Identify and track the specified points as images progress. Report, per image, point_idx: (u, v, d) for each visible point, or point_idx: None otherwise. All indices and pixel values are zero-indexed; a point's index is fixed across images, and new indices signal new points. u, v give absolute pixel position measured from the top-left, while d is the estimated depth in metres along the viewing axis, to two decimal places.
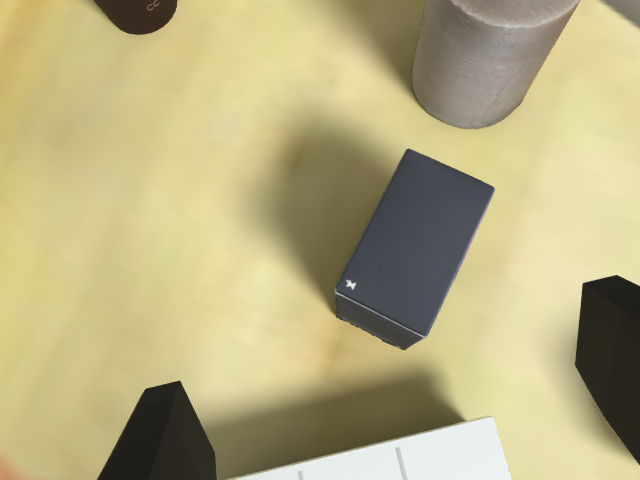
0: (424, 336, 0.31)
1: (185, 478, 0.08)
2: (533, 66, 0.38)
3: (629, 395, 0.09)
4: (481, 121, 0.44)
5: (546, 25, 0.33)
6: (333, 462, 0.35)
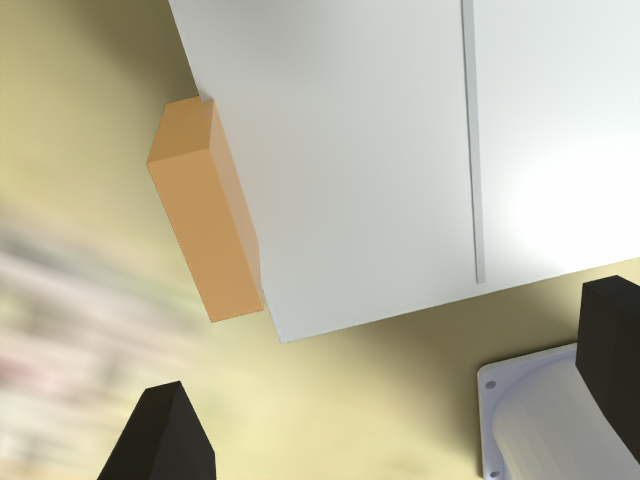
0: None
1: (185, 479, 0.08)
2: None
3: (628, 395, 0.09)
4: None
5: None
6: None
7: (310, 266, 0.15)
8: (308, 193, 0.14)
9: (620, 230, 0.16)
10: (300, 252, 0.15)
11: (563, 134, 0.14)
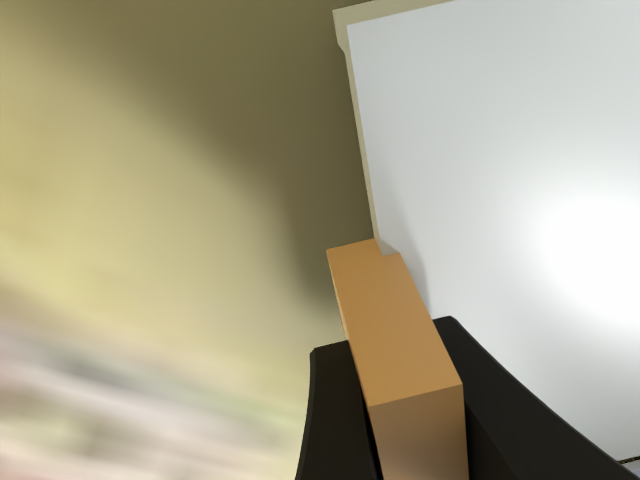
0: None
1: (370, 433, 0.08)
2: None
3: None
4: None
5: None
6: None
7: None
8: (494, 352, 0.11)
9: None
10: None
11: None
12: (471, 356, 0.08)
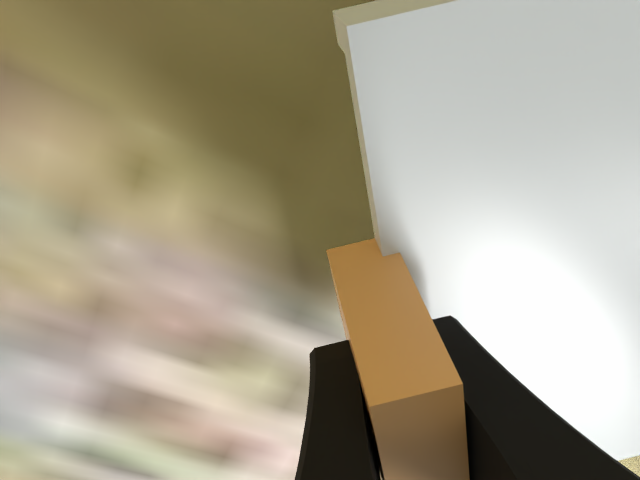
0: None
1: (369, 433, 0.08)
2: None
3: None
4: None
5: None
6: None
7: None
8: (494, 352, 0.11)
9: None
10: None
11: None
12: (471, 356, 0.08)
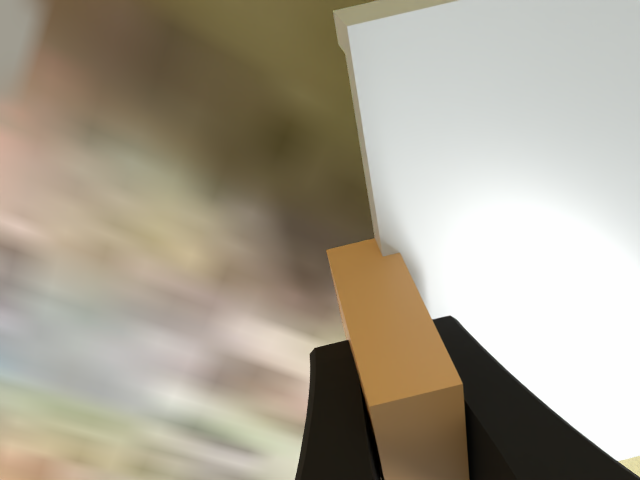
0: None
1: (370, 433, 0.08)
2: None
3: None
4: None
5: None
6: None
7: None
8: (494, 352, 0.11)
9: None
10: None
11: None
12: (471, 356, 0.08)
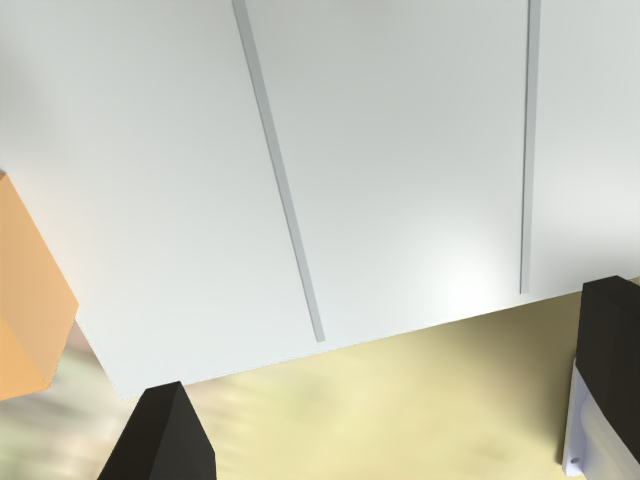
0: None
1: (185, 478, 0.08)
2: None
3: (629, 395, 0.09)
4: None
5: None
6: None
7: (139, 327, 0.15)
8: (124, 260, 0.14)
9: (457, 291, 0.16)
10: (126, 315, 0.15)
11: (382, 202, 0.14)
12: None
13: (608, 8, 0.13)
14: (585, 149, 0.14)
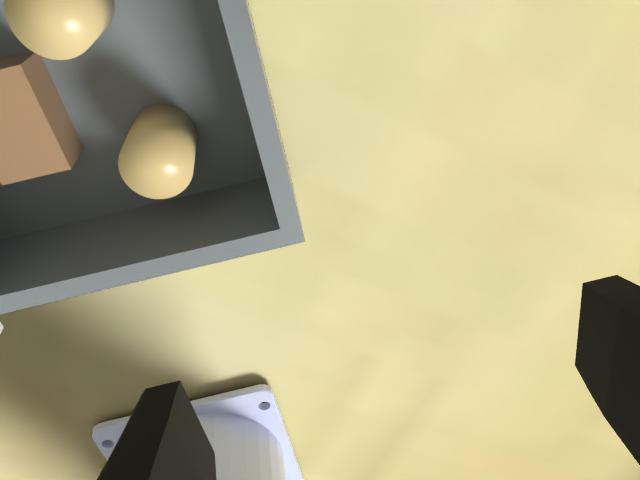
0: None
1: (185, 478, 0.08)
2: None
3: (628, 395, 0.09)
4: None
5: None
6: None
7: None
8: None
9: None
10: None
11: None
12: None
13: None
14: None
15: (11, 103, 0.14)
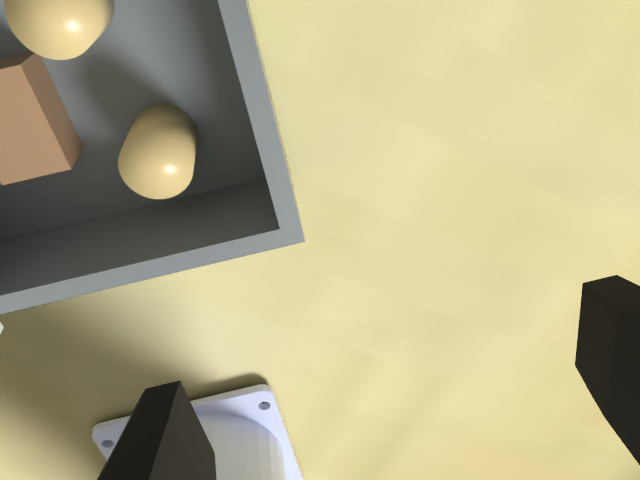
0: None
1: (185, 478, 0.08)
2: None
3: (628, 395, 0.09)
4: None
5: None
6: None
7: None
8: None
9: None
10: None
11: None
12: None
13: None
14: None
15: (11, 103, 0.14)
